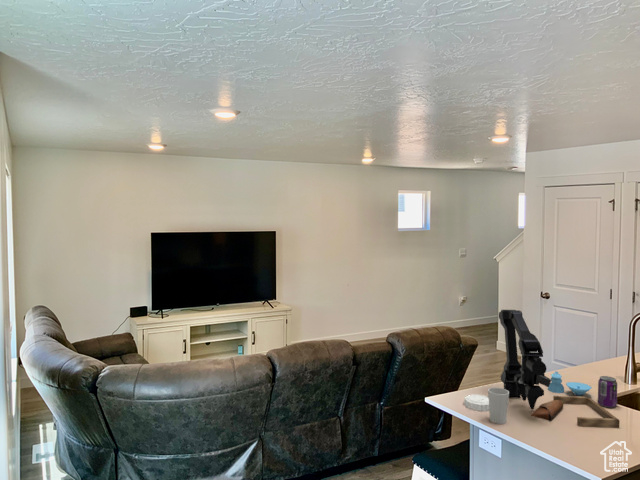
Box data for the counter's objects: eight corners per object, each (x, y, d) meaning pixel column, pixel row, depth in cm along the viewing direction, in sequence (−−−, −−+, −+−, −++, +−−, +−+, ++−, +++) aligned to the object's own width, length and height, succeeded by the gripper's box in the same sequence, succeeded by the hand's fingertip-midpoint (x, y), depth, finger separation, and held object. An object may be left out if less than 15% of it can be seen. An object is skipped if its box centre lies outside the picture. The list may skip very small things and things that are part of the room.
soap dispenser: (592, 394, 219) (593, 375, 219) (589, 401, 211) (590, 381, 211) (550, 386, 230) (551, 368, 230) (545, 392, 222) (546, 373, 222)
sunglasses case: (542, 403, 208) (551, 392, 205) (557, 414, 204) (566, 403, 202) (529, 415, 194) (538, 404, 192) (545, 428, 190) (554, 416, 188)
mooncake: (475, 399, 213) (475, 391, 213) (499, 407, 204) (499, 399, 203) (458, 405, 206) (458, 396, 206) (482, 414, 197) (482, 405, 196)
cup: (508, 418, 192) (508, 388, 192) (509, 425, 185) (509, 395, 184) (487, 415, 195) (487, 386, 194) (487, 423, 187) (488, 393, 187)
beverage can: (619, 409, 202) (620, 381, 201) (601, 407, 203) (602, 380, 203) (612, 403, 208) (613, 376, 208) (595, 401, 210) (595, 375, 210)
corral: (578, 426, 184) (579, 418, 184) (553, 402, 209) (553, 395, 209) (619, 427, 183) (619, 420, 183) (588, 403, 208) (588, 396, 208)
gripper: (557, 375, 188) (557, 414, 188) (540, 361, 206) (539, 397, 207) (528, 374, 189) (528, 413, 189) (514, 361, 207) (513, 396, 208)
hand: (528, 404), depth 198 cm, fingers open, 9 cm apart
